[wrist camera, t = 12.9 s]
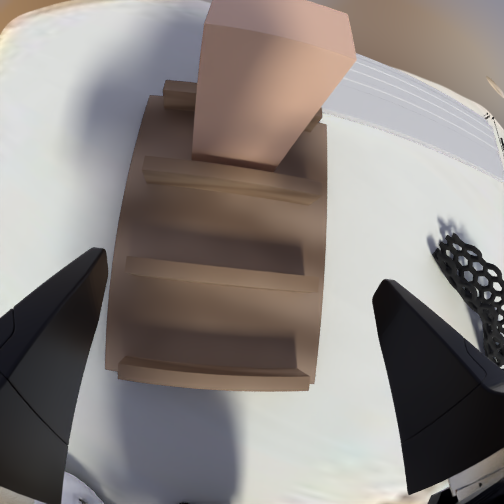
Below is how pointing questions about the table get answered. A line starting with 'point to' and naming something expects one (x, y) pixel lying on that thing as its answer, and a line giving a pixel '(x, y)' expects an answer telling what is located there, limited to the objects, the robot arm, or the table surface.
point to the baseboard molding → (415, 114)
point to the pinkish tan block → (265, 77)
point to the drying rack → (217, 261)
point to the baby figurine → (76, 492)
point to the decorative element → (470, 293)
